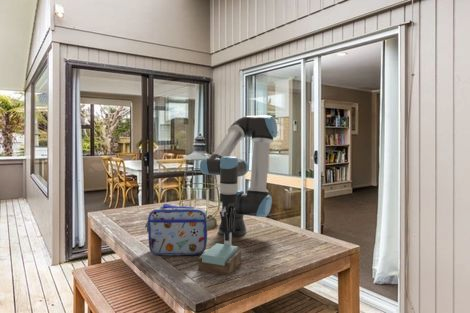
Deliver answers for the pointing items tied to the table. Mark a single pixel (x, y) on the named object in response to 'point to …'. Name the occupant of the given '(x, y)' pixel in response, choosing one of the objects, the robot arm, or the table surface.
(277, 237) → the table surface
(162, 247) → the lunch box
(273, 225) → the table surface
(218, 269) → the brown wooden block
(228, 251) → the teal rectangular block
